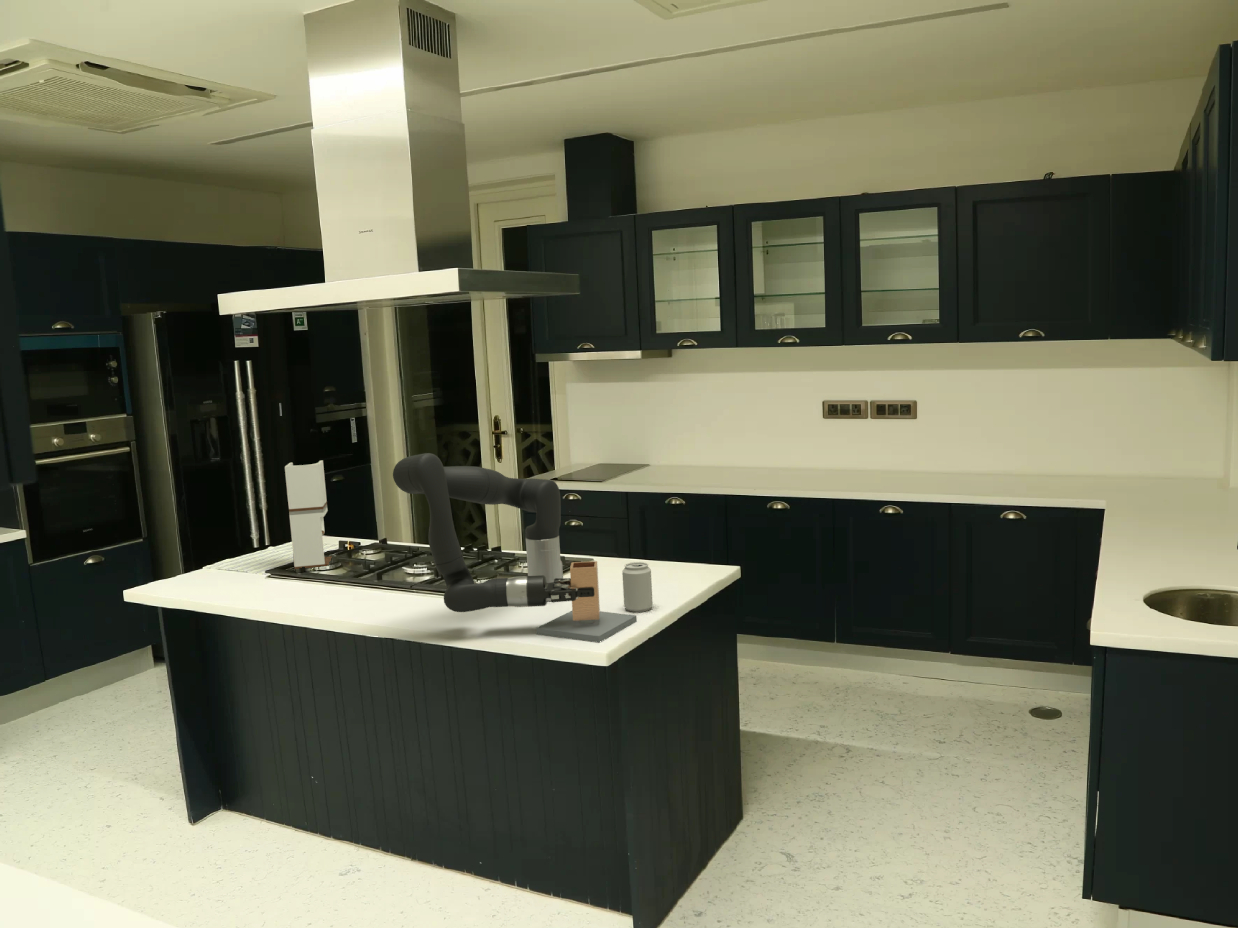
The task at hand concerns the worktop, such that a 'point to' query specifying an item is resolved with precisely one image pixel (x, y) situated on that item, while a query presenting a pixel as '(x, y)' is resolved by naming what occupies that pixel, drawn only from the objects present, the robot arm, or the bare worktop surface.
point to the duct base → (586, 626)
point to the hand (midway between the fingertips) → (594, 588)
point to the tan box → (584, 578)
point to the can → (637, 587)
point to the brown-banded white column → (307, 513)
